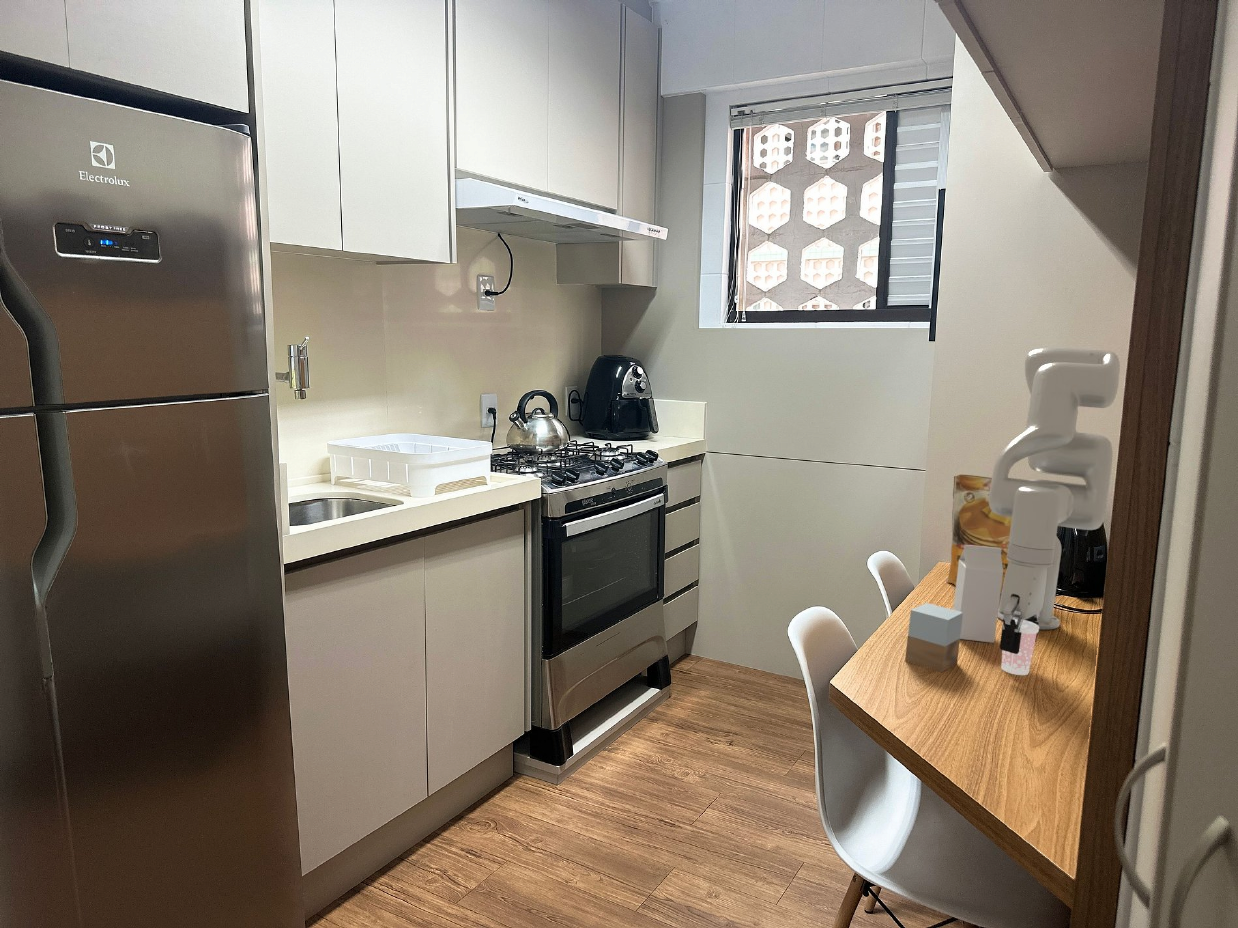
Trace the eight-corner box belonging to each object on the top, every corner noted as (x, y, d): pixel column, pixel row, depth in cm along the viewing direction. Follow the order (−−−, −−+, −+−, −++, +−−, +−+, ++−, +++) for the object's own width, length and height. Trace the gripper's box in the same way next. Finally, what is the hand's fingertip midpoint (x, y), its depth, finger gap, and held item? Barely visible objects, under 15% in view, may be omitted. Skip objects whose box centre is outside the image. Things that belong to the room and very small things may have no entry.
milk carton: (994, 643, 169) (1005, 552, 167) (957, 639, 171) (968, 548, 168) (986, 632, 176) (997, 544, 173) (950, 628, 178) (961, 540, 175)
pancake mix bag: (944, 577, 218) (957, 472, 214) (1024, 593, 208) (1039, 482, 204) (938, 583, 213) (951, 474, 209) (1019, 599, 202) (1034, 485, 198)
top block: (923, 627, 161) (926, 602, 161) (960, 638, 157) (963, 612, 156) (908, 635, 156) (910, 609, 155) (945, 646, 151) (948, 619, 151)
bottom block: (920, 652, 162) (923, 627, 161) (956, 663, 157) (960, 638, 156) (904, 661, 157) (907, 635, 156) (941, 672, 152) (944, 646, 151)
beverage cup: (1037, 671, 155) (1047, 598, 153) (1026, 679, 151) (1036, 604, 149) (1004, 661, 160) (1013, 590, 157) (991, 668, 155) (1001, 596, 153)
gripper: (1025, 544, 161) (1013, 630, 163) (991, 556, 148) (979, 650, 151) (1067, 552, 156) (1054, 641, 158) (1035, 566, 143) (1022, 663, 146)
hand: (1018, 645), depth 154 cm, fingers open, 8 cm apart
